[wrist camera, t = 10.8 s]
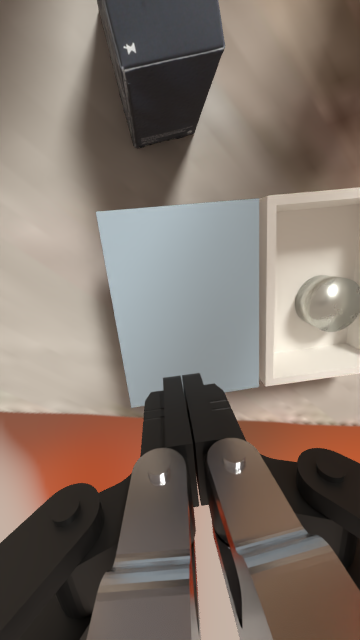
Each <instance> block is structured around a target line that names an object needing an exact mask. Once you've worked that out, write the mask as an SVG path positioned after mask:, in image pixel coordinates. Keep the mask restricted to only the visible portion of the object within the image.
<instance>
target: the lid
mask: <svg viewBox="0 0 360 640" xmlns="http://www.w3.org/2000/svg"><path fill="white" fill-rule="evenodd" d="M96 216H97V221H98V227H99V232H100V238H101V243H102V249H103V255H104V260H105V266H106V271H107V277H108V282H109V288H110V293H111V299H112V304H113V310H114V315H115V321H116V326H117V332H118V337H119V343H120V348H121V354H122V359H123V365H124V370H125V376H126V381H127V387H128V392H129V398H130V403H131V408H133V407H139V406H145V400H146V399H147V397H148V396H149V394H150V393H151V392H155V391H163V378H164V377H172V376H180V375H181V380H182V375H187V374H194V373H200V375H201V378H202V381H203V384H204V385H207V384H214V383H215V384H216V385H217V386H218V387H220V388H221V389H222V390H223V391H224V393H225V392H231V391H237V390H243V389H249V388H255V387H259V198H256V199H244V200H232V201H220V202H208V203H196V204H183V205H171V206H159V207H147V208H135V209H123V210H111V211H98V212H96ZM182 386H183V382H182ZM183 392H184V391H183Z"/></svg>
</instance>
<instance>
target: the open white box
mask: <svg viewBox="0 0 360 640" xmlns="http://www.w3.org/2000/svg"><path fill="white" fill-rule="evenodd" d="M318 275H329V276H336V277H342V278H348V279H351V280H353V281H354V282H356V283H357V284H358V285H359V287H360V187H359V188H348V189H336V190H325V191H314V192H302V193H291V194H279V195H268V196H266V197H263V198H261V199H259V379H260V380H261V381H262V383H263V384H264V385H265V387H266V386H273V385H280V384H287V383H294V382H301V381H309V380H316V379H323V378H330V377H337V376H344V375H351V374H358V373H360V313H359V315H358V316H357V318H356V319H355V320H354V321H353V322H352V323H351V324H350V325H349V326H348V327H346V328H344V329H342V330H340V331H336V332H326V331H323V330H321V329H319V328H317V327H315V326H312V325H310V324H308V323H306V322H304V321H303V320H301V319H300V318H299V316H298V315H297V313H296V310H295V298H296V295H297V293H298V291H299V289H300V287H301V286H302V285H303V284H304V283H305V282H306V281H307V280H309V279H310V278H312V277H315V276H318Z"/></svg>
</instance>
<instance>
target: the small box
mask: <svg viewBox="0 0 360 640" xmlns="http://www.w3.org/2000/svg"><path fill="white" fill-rule="evenodd" d="M97 3H98V8H99V12H100V16H101V20H102V24H103V29H104V32H105V36H106V40H107V44H108V48H109V52H110V58H111V60H112V64H113V68H114V72H115V75H116V79H117V83H118V87H119V92H120V97H121V101H122V104H123V108H124V113H125V116H126V119H127V123H128V126H129V130H130V133H131V137H132V141H133V146H134V147H136V148H139V147H140V148H141V147H144V146H145V145H151V144H153V143H158V142H161V141H166V140H170V139H174V138H176V139H178V138H181V137H184V136H187V135H190V134H193V133H195V130H196V126H197V124H198V121H199V118H200V115H201V112H202V109H203V106H204V103H205V101H206V98H207V95H208V92H209V89H210V87H211V84H212V81H213V78H214V75H215V73H216V70H217V67H218V63H219V61H220V58H221V55H222V53H223V51H224V48H225V42H224V36H223V29H222V22H221V15H220V9H219V2H218V0H97Z"/></svg>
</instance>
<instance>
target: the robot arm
mask: <svg viewBox="0 0 360 640" xmlns="http://www.w3.org/2000/svg"><path fill="white" fill-rule="evenodd" d="M182 382H183V386H182ZM183 391H184V392H183ZM196 477H197V481H196ZM197 483H198V489H199V495H200V501H201V505H209V508H210V513H211V518H212V527H213V536H214V540H215V544H216V548H217V552H218V556H219V559H220V563H221V567H222V571H223V575H224V579H225V582H226V586H227V590H228V594H229V598H230V602H231V605H232V609H233V613H234V617H235V621H236V625H237V629H238V633H239V637H240V640H360V464H359V463H358V462H355V461H353V460H351V459H349V458H347V457H345V456H343V455H341V454H339V453H336V452H334V451H331V450H327V449H322V448H312V449H308V450H306V451H304V452H302V453H301V455H300V456H299V458H298V461H297V462H291V461H284V460H277V459H272V458H269V457H266V456H263V455H261V454H260V453H259V452H258V451H257V449H256V448H255V447H254V446H253V445H251V444H250V443H248V442H247V441H246V440H245V437H244V435H243V433H242V431H241V429H240V427H239V424H238V422H237V420H236V418H235V415H234V413H233V411H232V409H231V407H230V404H229V402H228V401H227V398H226V396H225V393H224V391H223V390H222V389H221V388H220V387H218V386H217V385H216V384H215V383H214V384H207V385H204V384H203V381H202V378H201V375H200V373H194V374H187V375H182V380H181V375H180V376H172V377H164V378H163V391H155V392H151V393H150V394H149V396H148V397H147V399H146V400H145V407H144V422H143V433H142V445H141V456H140V458H139V460H138V461H137V462H136V464H135V466H134V468H133V471H132V473H131V475H130V476H128V477H127V478H126V479H125V480H123V481H122V482H120V483H118V484H117V485H115V486H113V487H111V488H108V489H106V490H104V491H102V492H100V493H98V492H97V490H96V489H95V488H94V487H92V486H91V485H89V484H85V483H78V484H73V485H70V486H67V487H65V488H63V489H61V490H60V491H58V492H57V493H55V494H54V495H53V496H52V497H51V498H49V499H48V500H47V501H46V502H45V503H44V504H43V505H42V506H40V507H39V508H38V509H37V510H36V511H35V512H34V513H33V514H32V515H31V516H30V517H28V518H27V519H26V520H25V521H24V522H23V523H22V524H21V525H20V526H19V527H18V528H16V529H15V530H14V531H13V532H12V533H11V534H10V535H9V536H8V537H7V538H6V539H4V540H3V541H2V542H1V543H0V640H201V636H200V620H199V603H198V587H197V574H196V573H197V571H196V555H195V540H194V537H195V531H196V530H195V518H194V509H193V507H198V506H199V501H198V491H197Z"/></svg>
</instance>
